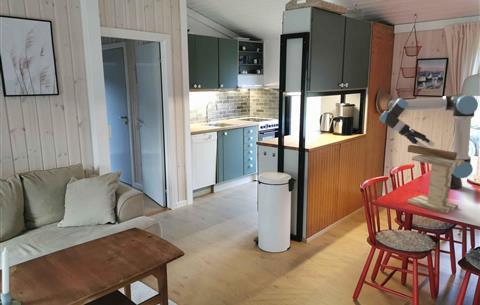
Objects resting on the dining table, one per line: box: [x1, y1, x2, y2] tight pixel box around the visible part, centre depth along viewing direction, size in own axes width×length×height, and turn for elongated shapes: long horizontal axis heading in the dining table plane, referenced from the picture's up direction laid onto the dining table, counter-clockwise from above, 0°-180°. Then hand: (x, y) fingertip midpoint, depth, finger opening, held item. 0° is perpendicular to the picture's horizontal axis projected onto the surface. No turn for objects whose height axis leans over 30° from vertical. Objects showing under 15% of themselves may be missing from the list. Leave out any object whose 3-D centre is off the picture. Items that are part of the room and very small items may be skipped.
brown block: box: [406, 144, 457, 160], centre depth 220 cm, size 4×28×4 cm, turn 34°
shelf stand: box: [407, 154, 464, 215], centre depth 215 cm, size 16×22×29 cm
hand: (429, 146), depth 238 cm, fingers open, 13 cm apart
